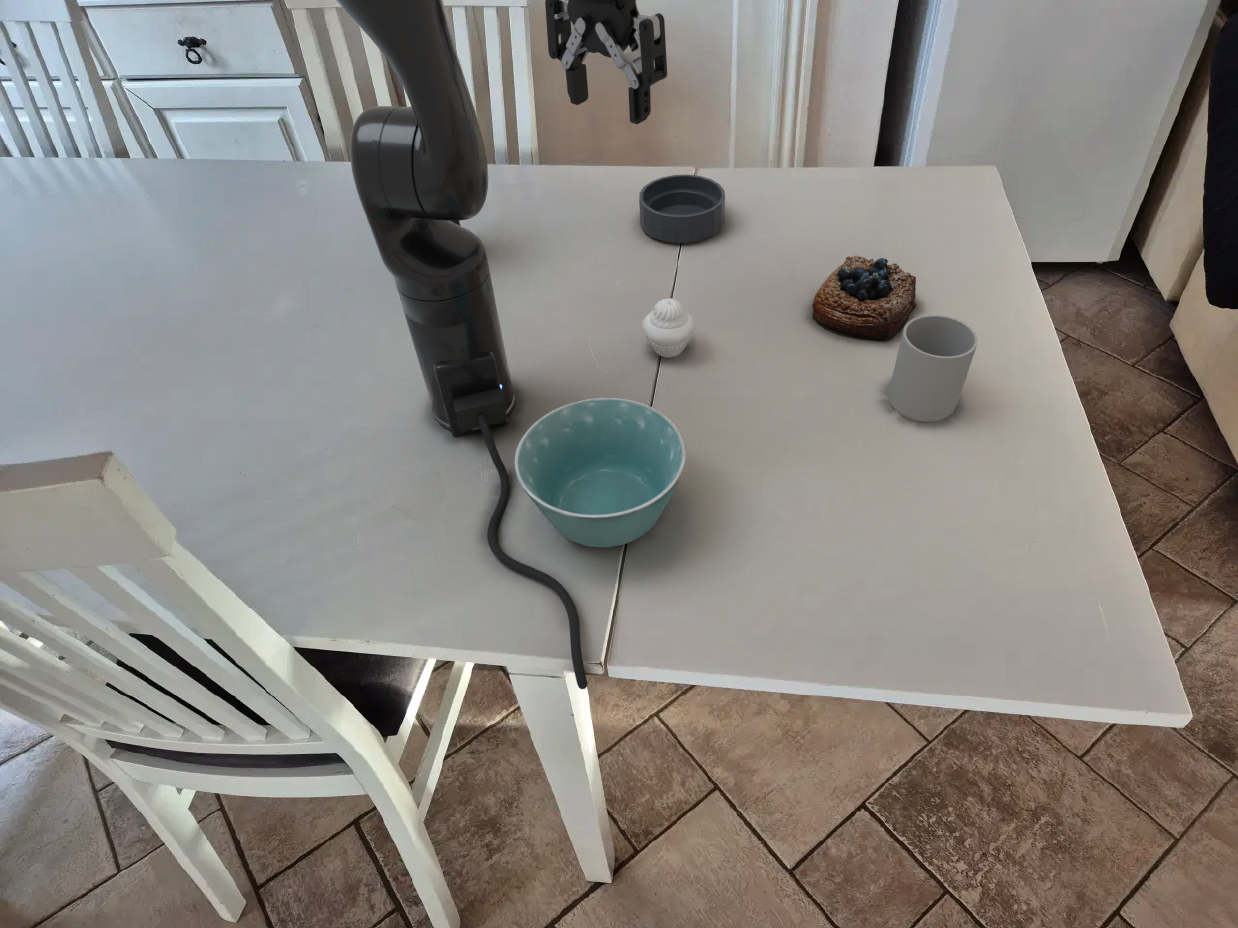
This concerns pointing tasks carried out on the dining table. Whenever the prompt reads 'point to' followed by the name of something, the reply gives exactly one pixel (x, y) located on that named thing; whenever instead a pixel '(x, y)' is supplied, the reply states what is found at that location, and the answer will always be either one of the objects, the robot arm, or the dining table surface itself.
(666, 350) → the white cupcake
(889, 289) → the pastry
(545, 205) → the dining table surface
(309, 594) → the dining table surface
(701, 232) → the grey shallow dish
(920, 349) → the cup
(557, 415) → the bowl
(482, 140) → the robot arm
